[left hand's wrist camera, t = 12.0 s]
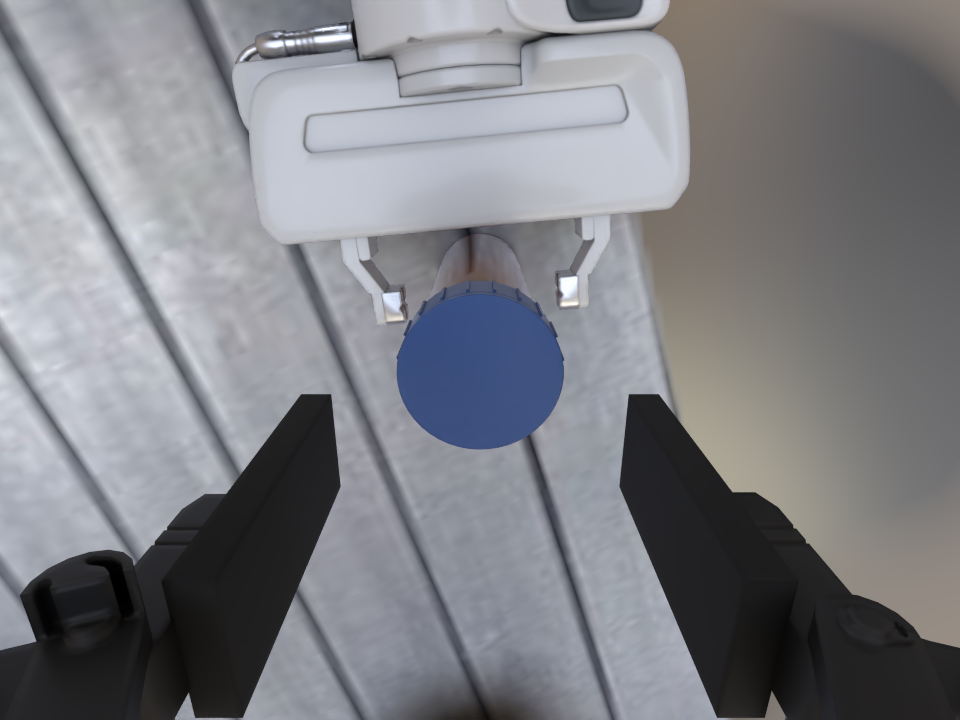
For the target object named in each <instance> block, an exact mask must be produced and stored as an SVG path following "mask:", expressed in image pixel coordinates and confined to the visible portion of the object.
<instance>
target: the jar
mask: <svg viewBox="0 0 960 720" xmlns="http://www.w3.org/2000/svg"><path fill="white" fill-rule="evenodd" d="M469 279H470V281H491V282H492V280H495V281H496V282H497V283H501V284H505V285H507V286H510V287H513V288H515V289H516V288H519V289H520V292H522V293H523V294H525V295H526V296H528V297H529V298H530V299H531V300H532V298H531V295H530V292H529V290H528V287H527V284H526V282H525V279H524V276H523V273H522V271H521V268H520V265H519V262H518V260H517V257H516V255H515V253H514V252H513V250H512V249H511V248H510V246H508V245H507V244H506V243H505V242H504V241H503V240H501V239H499V238H497V237H495V236H492V235H488V234H472V235H468V236H465V237H463V238H461V239H459V240H458V241H456V242H455V243H454V244H453V245H452V246H451V247H450V248H449V249H448V251H447V252H446V254H445V256H444V258H443V261H442V263H441V266H440V269H439V272H438V274H437V277H436V280H435V283H434V286H433V288H432V291H431V294H430V297H429V299H430V298H432V297H433V296H434V295H436V294H437V293H439V292H440V291H442V289H443V287H446V288H448V287H451V286H453V285H456V284H460V283H463V282H467V280H469ZM429 299H428V300H429Z"/></svg>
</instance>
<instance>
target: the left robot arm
mask: <svg viewBox="0 0 960 720" xmlns="http://www.w3.org/2000/svg"><path fill="white" fill-rule="evenodd" d="M339 489H340V477H339V467H338V457H337V447H336V438H335V428H334V418H333V408H332V398H331V394H301V395H300V397H299V398H298V399H297V401H296V402H295V403H294V405H293V406H292V407H291V409H290V410H289V411H288V413H287V414H286V415H285V417H284V418H283V419H282V421H281V422H280V423H279V425H278V426H277V427H276V429H275V430H274V431H273V433H272V434H271V435H270V437H269V438H268V439H267V441H266V442H265V443H264V445H263V446H262V447H261V449H260V450H259V451H258V453H257V454H256V455H255V457H254V458H253V459H252V461H251V462H250V463H249V465H248V466H247V467H246V469H245V470H244V471H243V473H242V474H241V475H240V477H239V478H238V479H237V481H236V482H235V483H234V485H233V486H232V487H231V489H230V490H229V491H228V492H227V494H205V495H203V496H202V497H200V498H198V499H197V500H195V501H194V502H192V503H191V504H189V505H188V506H186V507H185V508H183V509H182V510H181V511H180V512H179V514H178V515H177V516H176V517H175V518H174V520H173V521H172V522H171V523H170V524H169V526H168V527H167V530H164V531H163V533H162V534H161V535H160V536H159V537H158V539H157V540H156V541H155V545H152V546H151V547H150V548H149V549H148V550H147V552H146V553H145V554H144V555H143V556H142V557H141V559H140V560H139V561H138V562H137V563H136V565H135V566H134V565H133V561H132V558H130V557H129V556H128V555H126V554H125V553H124V552H119V551H113V550H103V551H94V552H88V553H85V554H82V555H78V556H75V557H72V558H69V559H67V560H65V561H62V562H60V563H58V564H56V565H54V566H52V567H50V568H48V569H47V570H46V571H44V572H43V573H41V574H40V575H39V576H37V577H36V578H35V579H33V580H32V581H31V582H30V583H29V584H28V586H27V587H26V588H25V589H24V591H23V592H22V593H21V594H20V597H21V600H22V603H23V605H24V608H25V611H26V614H27V616H28V619H29V622H30V625H31V627H32V630H33V633H34V635H35V638H36V641H37V642H33V643H30V644H26V645H21V646H17V647H13V648H9V649H4V650H0V720H175V717H176V715H177V713H178V711H179V709H180V707H181V705H182V704H183V702H184V700H185V698H186V696H187V694H188V693H189V695H190V699H191V703H192V707H193V711H194V715H195V718H243V716H244V714H245V711H246V709H247V707H248V704H249V702H250V699H251V697H252V695H253V692H254V690H255V688H256V685H257V683H258V680H259V678H260V676H261V673H262V671H263V669H264V666H265V664H266V662H267V659H268V657H269V654H270V652H271V650H272V647H273V645H274V643H275V640H276V638H277V636H278V633H279V631H280V628H281V626H282V624H283V621H284V619H285V617H286V614H287V612H288V610H289V607H290V605H291V602H292V600H293V598H294V595H295V593H296V591H297V588H298V586H299V584H300V581H301V579H302V576H303V574H304V572H305V569H306V567H307V565H308V562H309V560H310V557H311V555H312V553H313V550H314V548H315V546H316V543H317V541H318V539H319V536H320V534H321V531H322V529H323V527H324V524H325V522H326V520H327V517H328V515H329V513H330V510H331V508H332V505H333V503H334V501H335V498H336V496H337V494H338V491H339ZM620 489H621V491H622V494H623V496H624V498H625V501H626V503H627V505H628V508H629V510H630V513H631V515H632V517H633V520H634V522H635V524H636V527H637V529H638V531H639V534H640V536H641V539H642V541H643V543H644V546H645V548H646V550H647V553H648V555H649V558H650V560H651V562H652V565H653V567H654V569H655V572H656V574H657V576H658V579H659V581H660V584H661V586H662V588H663V591H664V593H665V595H666V598H667V600H668V602H669V605H670V607H671V610H672V612H673V614H674V617H675V619H676V621H677V624H678V626H679V628H680V631H681V633H682V636H683V638H684V640H685V643H686V645H687V647H688V650H689V652H690V654H691V657H692V659H693V662H694V664H695V666H696V669H697V671H698V673H699V676H700V678H701V680H702V683H703V685H704V688H705V690H706V692H707V695H708V697H709V699H710V702H711V704H712V707H713V709H714V711H715V714H716V716H717V718H765V715H766V711H767V707H768V703H769V699H770V695H771V691H772V692H773V693H774V695H775V697H776V699H777V701H778V703H779V704H780V706H781V708H782V710H783V712H784V714H785V715H786V717H785V720H960V648H957V647H953V646H949V645H945V644H940V643H936V642H932V641H928V640H925V639H922V638H920V636H919V635H918V633H917V632H916V630H915V629H914V627H913V626H912V625H910V624H909V623H908V622H907V621H906V620H905V619H903V618H902V617H901V616H900V615H899V614H898V613H896V612H894V611H892V610H891V609H889V608H887V607H885V606H883V605H882V604H880V603H878V602H875V601H872V600H870V599H867V598H864V597H861V596H858V595H852V594H851V593H850V591H849V590H848V589H847V588H846V587H845V586H844V584H843V583H842V582H841V581H840V580H839V578H838V577H837V576H836V575H835V574H834V573H833V571H832V570H831V569H830V568H829V567H828V566H827V564H826V563H825V562H824V561H823V560H822V558H821V557H820V556H819V555H818V554H817V553H816V551H815V550H814V549H813V548H812V547H811V546H810V544H806V540H805V538H804V537H803V536H802V535H801V534H800V533H799V531H798V530H797V529H794V528H793V524H792V523H791V522H790V521H789V520H788V518H787V517H786V516H785V515H784V514H783V513H782V511H781V510H780V509H779V508H778V507H777V506H775V505H774V504H772V503H771V502H769V501H768V500H766V499H764V498H763V497H761V496H760V495H758V494H757V493H755V492H732V491H731V490H730V489H729V487H728V486H727V485H726V483H725V482H724V481H723V479H722V478H721V477H720V475H719V474H718V473H717V471H716V470H715V469H714V467H713V466H712V465H711V463H710V462H709V461H708V459H707V458H706V457H705V455H704V454H703V453H702V451H701V450H700V449H699V447H698V446H697V445H696V443H695V442H694V441H693V439H692V438H691V437H690V435H689V434H688V433H687V431H686V430H685V429H684V427H683V426H682V425H681V423H680V422H679V421H678V419H677V418H676V417H675V415H674V414H673V413H672V411H671V410H670V409H669V407H668V406H667V405H666V403H665V402H664V401H663V399H662V398H661V397H660V395H659V394H629V398H628V408H627V418H626V428H625V438H624V447H623V457H622V467H621V477H620Z"/></svg>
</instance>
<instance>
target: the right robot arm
mask: <svg viewBox="0 0 960 720" xmlns="http://www.w3.org/2000/svg"><path fill="white" fill-rule="evenodd" d="M351 4H352V11H353V15H354V19H353V22H349V23H347V22H345V23H339V24H331V25H322V26H316V27H312V28H308V29H304V30H302V31H301V30H299V31H296V32H295V31H291V32H286V31H285V30H273V31H268V32H264V33H261V34H259V35H257V36H256V39H255V42H256V43H254V44H252V45H250V46H248V47H247V48H245V49H244V50H243V51H242V52H241V54H240V55H239V57H238V58H237V60H236V63H235V65H234V67H233V71H232V80H233V86H234V91H235V95H236V100H237V104H238V109H239V113H240V116H241V118H242V121H243V123H244V125H245V126H246V128H247V129H248V130H249V139H250V155H251V167H252V177H253V185H254V192H255V199H256V205H257V211H258V216H259V220H260V223H261V225H262V227H263V228H264V229H265V230H266V231H267V232H268V233H269V234H270V235H271V236H272V237H273V238H274V239H275V240H276V241H278V242H279V243H280V244H283V245H287V244H299V243H309V242H320V241H331V240H340V244H341V250H342V256H343V261H344V264H345V265H346V266H347V267H348V269H349V270H350V271H351V272H352V274H353V275H354V276H355V277H356V278H357V280H358V281H359V282H360V283H361V285H362V286H363V287H364V288H365V289H366V291H367V292H368V293H369V294H372V299H373V305H374V311H375V317H376V322H377V324H378V325H391V324H400V323H406V322H407V321H406V320H407V319H408V304H407V303H406V302H405V301H404V300H405V298H406V290H405V284H403V285H390V284H389V283H388V282H387V280H386V279H385V278H384V276H383V275H382V274H381V272H380V271H379V270H378V268H377V267H376V265H375V264H374V263H373V261H372V260H371V258H372V257H373V256H374V255H375V254H376V253H377V252H378V245H377V238H376V236H385V235H396V234H407V233H417V232H428V231H439V230H450V229H461V228H471V227H482V226H493V225H504V224H515V223H525V222H536V221H547V220H558V219H569V218H575V233H576V234H577V235H578V236H580V237H581V238H582V239H583V240H584V241H583V243H582V245H581V247H580V249H579V251H578V253H577V255H576V257H575V259H574V261H573V263H572V265H571V267H570V269H568V270H559V271H555V283H556V285H557V287H558V288H557V290H556V301H557V305H558V306H559V309H560V310H563V309H576V308H588V305H589V284H588V275H589V274H591V273H592V271H593V269H594V268H595V266H596V264H597V262H598V260H599V259H600V257H601V255H602V253H603V251H604V250H605V248H606V246H607V244H608V243H609V241H610V239H611V230H610V215H612V214H623V213H633V212H644V211H655V210H665V209H669V208H671V207H673V206H674V204H675V203H676V202H677V201H678V199H679V198H680V197H681V195H682V194H683V192H684V191H685V189H686V188H687V186H688V183H689V175H690V124H689V109H688V98H687V89H686V81H685V74H684V70H683V66H682V63H681V60H680V57H679V55H678V53H677V51H676V50H675V48H674V47H673V45H672V44H671V43H670V42H669V41H668V40H667V39H666V38H664V37H663V36H661V35H660V34H657V33H655V32H652V30H653V29H654V28H655V27H656V26H657V25H658V24H659V23H660V22H661V20H662V19H663V18H664V17H665V15H666V13H667V11H668V9H669V4H670V0H351ZM358 51H359V52H358ZM258 53H259V55H260V57H261V58H262V59H266V60H257V61H249V60H250V59H251V58H252V57H253V56H254V55H256V54H258ZM306 54H307V55H306ZM312 54H313V55H312ZM299 55H305V56H299ZM292 56H295V57H292Z"/></svg>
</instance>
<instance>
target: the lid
mask: <svg viewBox="0 0 960 720" xmlns="http://www.w3.org/2000/svg"><path fill="white" fill-rule="evenodd" d="M404 336H405V339H404V341H403V343H402V346H401V348H400V350H399V353H398V355H397V359H398V362H397V381H398V387H399V391H400V394H401V397H402V400H403V402H404V404H405V406H406V408H407V410H408V411H409V413H410V414H411V415H412V417H413V418H414V419H415V421H416V422H417V423H418V424H419V425H420V426H421V427H422V428H424V429H425V430H426V431H427V432H428V433H430V434H431V435H433V436H435V437H436V438H438V439H440V440H442V441H444V442H446V443H449V444H452V445H455V446H458V447H463V448H468V449H492V448H499V447H502V446H506V445H509V444H512V443H514V442H517V441H519V440H521V439H523V438H524V437H526V436H528V435H529V434H531V433H532V432H533V431H535V430H536V429H537V428H538V427H539V426H540V425H541V424H542V423H543V422H544V421H545V420H546V419H547V418H548V416H549V415H550V413H551V412H552V410H553V409H554V407H555V405H556V403H557V401H558V399H559V396H560V393H561V390H562V385H563V378H564V366H563V361H564V357H563V355H562V353H561V350H560V347H559V345H558V342H557V340H556V337H558V336H557V333H556V331H555V329H554V327H553V324H552V322H549V321H548V319H547V318H546V316H545V314H544V313H543V311H542V310H541V308H540V305H539V303H538V302H536V303H535V302H534V301H532V300H531V299H530V298H529V297H528V296H526V295H525V294H523V293H522V292H520V289H519V288H516V289H515V288H513V287H510V286H507V285H505V284H501V283H497V282H496V281H495V280H492V282H491V281H470V279H469V280H467V282H463V283H460V284H456V285H453V286H451V287H448V288H446V287H443V289H442V291H440V292H439V293H437V294H436V295H434V296H433V297H432V298H430V299H429V300H428V301H427V302H426V301H424V302H423V303H422V306H421V308H420V310H419V311H418V312H417V314H416V315H415V317H414V319H413V320H412V321H411V320H410V321H409V323H408V326H407V328H406V330H405V333H404Z"/></svg>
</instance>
